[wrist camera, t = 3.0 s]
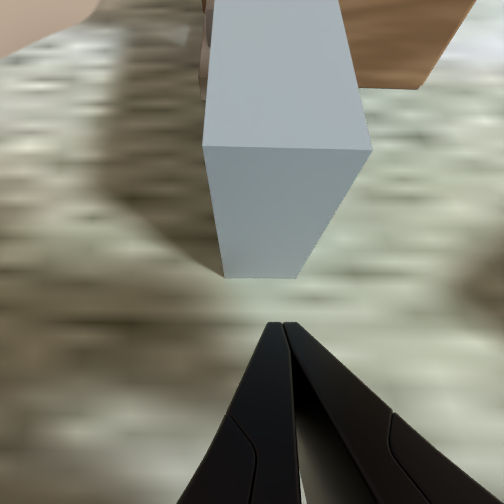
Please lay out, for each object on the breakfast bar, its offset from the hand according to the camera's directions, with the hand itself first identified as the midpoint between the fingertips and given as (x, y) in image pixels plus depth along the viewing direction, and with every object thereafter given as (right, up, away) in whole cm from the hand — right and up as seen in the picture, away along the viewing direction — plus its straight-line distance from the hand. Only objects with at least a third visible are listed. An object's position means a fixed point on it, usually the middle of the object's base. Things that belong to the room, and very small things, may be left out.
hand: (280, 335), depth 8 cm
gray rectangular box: (0, +8, +11) cm, 14 cm away
